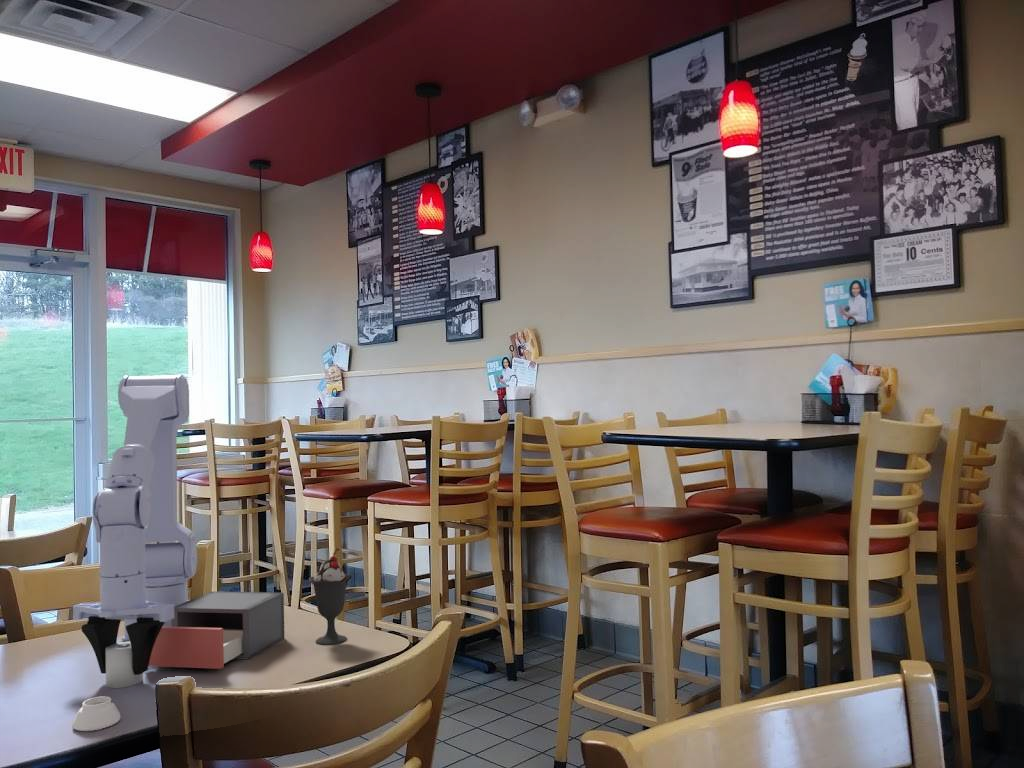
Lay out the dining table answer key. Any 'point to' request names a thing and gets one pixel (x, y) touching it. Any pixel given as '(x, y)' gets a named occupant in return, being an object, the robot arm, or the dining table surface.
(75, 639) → the dining table surface
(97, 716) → the white jar
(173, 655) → the red drawer
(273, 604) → the housing
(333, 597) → the sundae
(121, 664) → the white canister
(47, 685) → the dining table surface
